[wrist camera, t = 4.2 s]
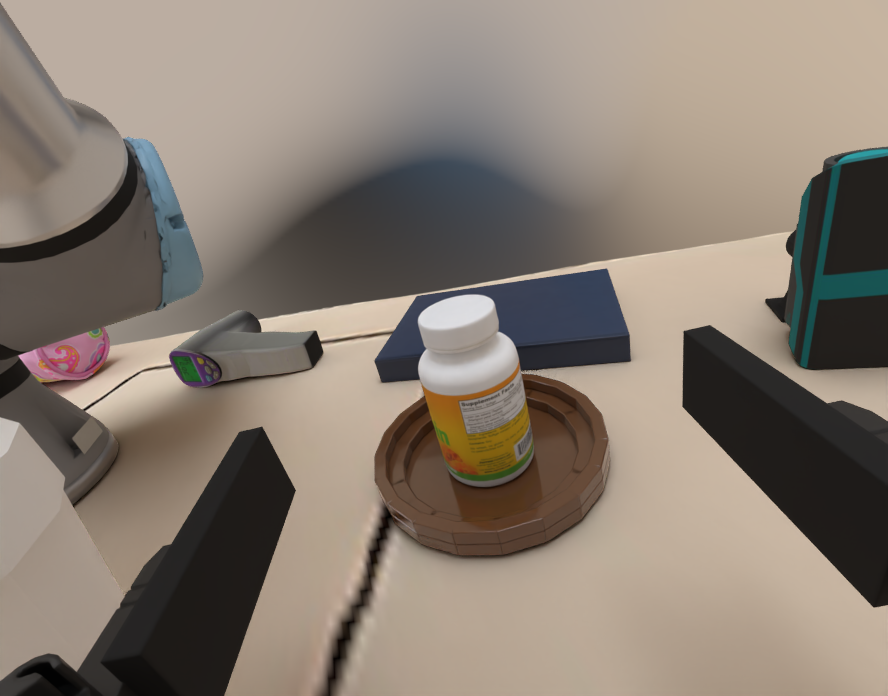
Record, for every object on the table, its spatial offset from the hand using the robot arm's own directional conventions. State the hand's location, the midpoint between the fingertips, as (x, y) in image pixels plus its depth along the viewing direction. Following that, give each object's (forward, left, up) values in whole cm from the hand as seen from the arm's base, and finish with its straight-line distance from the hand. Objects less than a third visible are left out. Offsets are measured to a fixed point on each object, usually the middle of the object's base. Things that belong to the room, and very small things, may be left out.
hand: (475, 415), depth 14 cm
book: (-10, +24, -10) cm, 28 cm away
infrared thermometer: (-36, +18, -10) cm, 41 cm away
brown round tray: (-5, +8, -10) cm, 14 cm away
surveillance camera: (+13, +25, -10) cm, 30 cm away
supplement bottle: (-5, +8, -10) cm, 14 cm away
